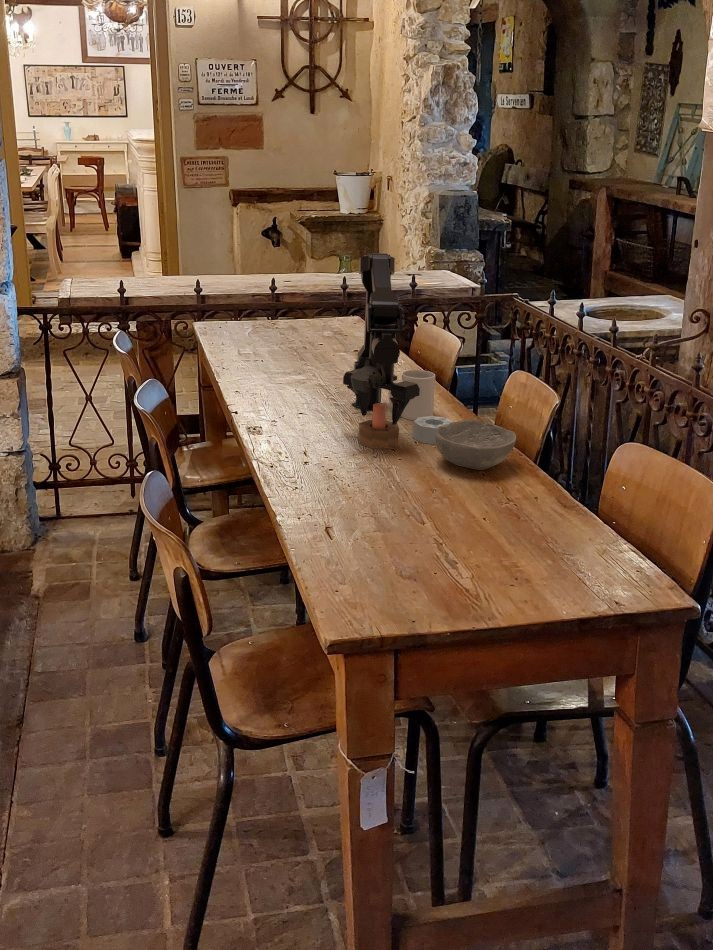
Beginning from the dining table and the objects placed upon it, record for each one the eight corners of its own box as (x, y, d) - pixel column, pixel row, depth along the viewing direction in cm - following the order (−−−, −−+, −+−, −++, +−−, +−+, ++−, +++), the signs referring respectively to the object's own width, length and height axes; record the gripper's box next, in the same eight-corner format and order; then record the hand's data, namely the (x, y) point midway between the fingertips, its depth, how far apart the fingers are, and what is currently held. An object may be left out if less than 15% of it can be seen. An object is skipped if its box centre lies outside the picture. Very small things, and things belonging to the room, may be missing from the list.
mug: (425, 410, 267) (428, 369, 263) (438, 419, 259) (440, 377, 256) (382, 412, 263) (383, 371, 260) (393, 422, 256) (395, 379, 252)
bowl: (460, 484, 216) (463, 448, 214) (417, 458, 231) (420, 424, 228) (530, 473, 224) (533, 438, 222) (484, 449, 239) (487, 416, 236)
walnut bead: (375, 433, 247) (376, 417, 245) (405, 442, 241) (406, 426, 240) (351, 441, 240) (351, 425, 239) (380, 450, 235) (381, 434, 233)
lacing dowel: (377, 439, 243) (378, 402, 240) (387, 442, 241) (388, 405, 238) (368, 442, 241) (370, 405, 237) (378, 445, 239) (380, 407, 236)
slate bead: (419, 430, 250) (420, 414, 249) (456, 435, 248) (457, 419, 246) (409, 441, 242) (410, 424, 241) (446, 446, 240) (448, 429, 238)
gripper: (327, 352, 233) (326, 417, 239) (391, 367, 222) (388, 436, 227) (360, 344, 241) (357, 408, 247) (423, 359, 230) (419, 426, 235)
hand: (379, 419), depth 239 cm, fingers open, 9 cm apart
